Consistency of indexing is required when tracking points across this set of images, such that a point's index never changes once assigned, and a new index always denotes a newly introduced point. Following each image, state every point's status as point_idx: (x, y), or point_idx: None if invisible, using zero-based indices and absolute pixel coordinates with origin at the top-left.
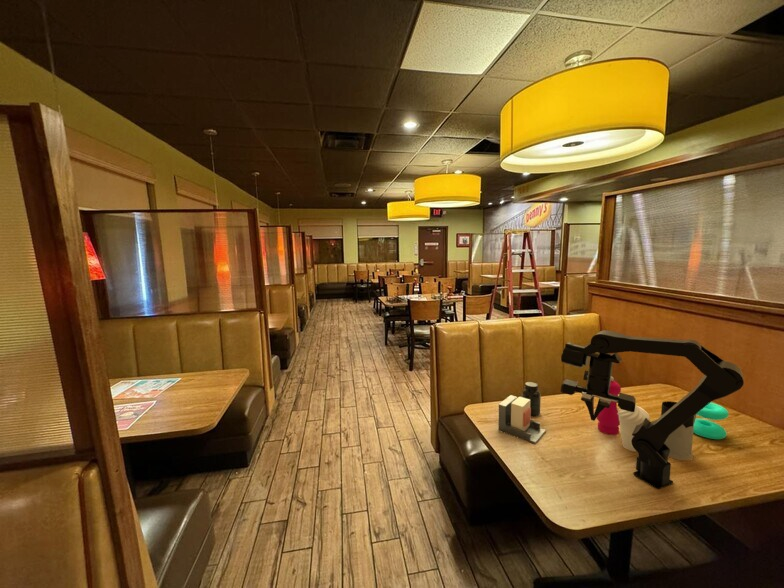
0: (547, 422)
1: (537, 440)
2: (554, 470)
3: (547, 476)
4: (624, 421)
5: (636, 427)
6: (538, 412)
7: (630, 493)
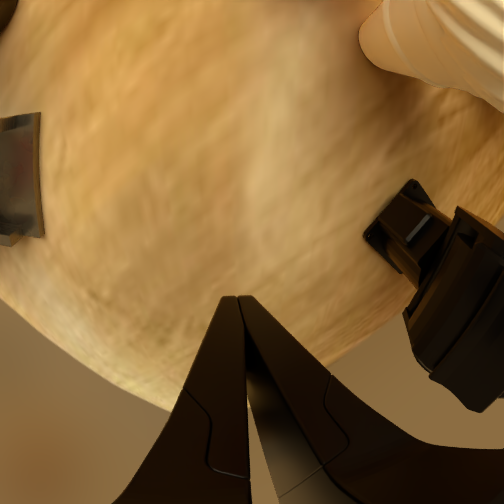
0: (39, 27)
1: (38, 215)
2: (142, 330)
3: (139, 355)
4: (458, 63)
5: (489, 314)
6: (2, 13)
7: (330, 319)
